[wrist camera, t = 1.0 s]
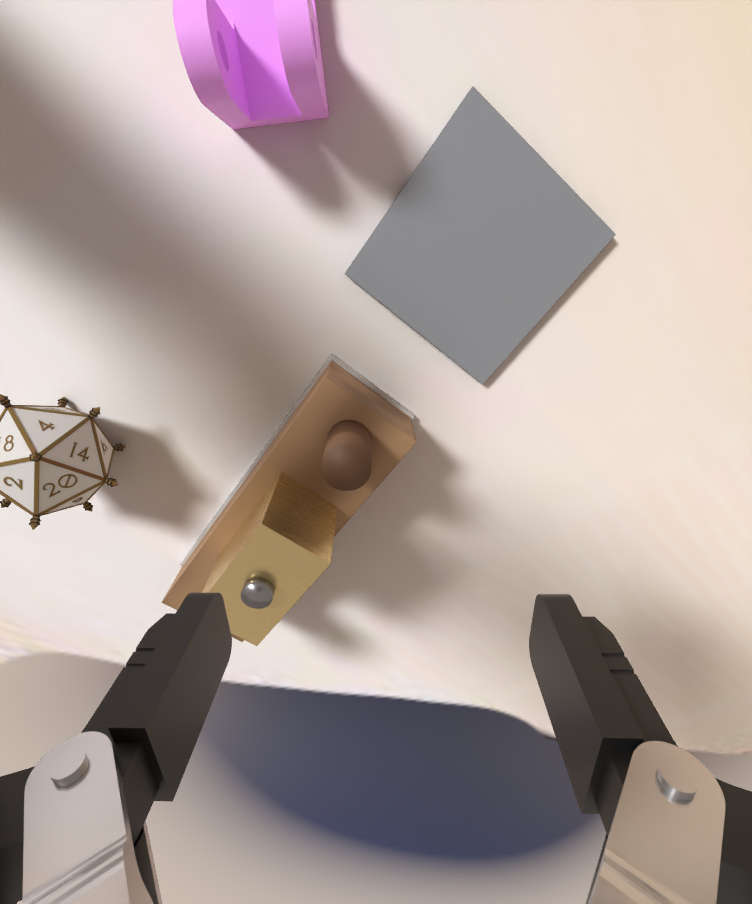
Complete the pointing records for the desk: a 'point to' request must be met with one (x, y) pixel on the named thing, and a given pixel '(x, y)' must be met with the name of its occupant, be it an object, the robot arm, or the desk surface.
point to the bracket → (253, 59)
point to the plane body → (312, 461)
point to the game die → (51, 458)
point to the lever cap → (273, 557)
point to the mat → (479, 241)
